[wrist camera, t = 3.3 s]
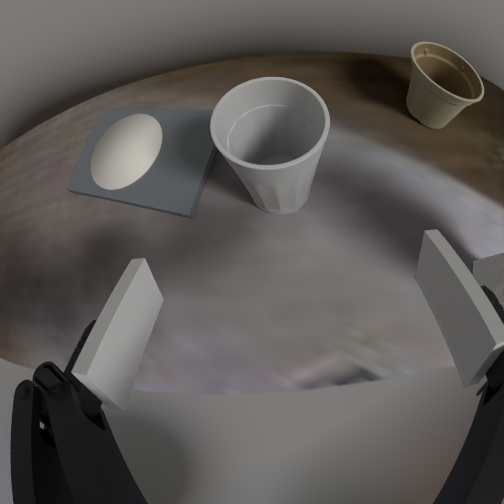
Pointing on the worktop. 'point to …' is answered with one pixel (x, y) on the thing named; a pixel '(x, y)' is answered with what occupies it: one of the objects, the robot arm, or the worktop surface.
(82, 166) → the board
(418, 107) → the flower pot
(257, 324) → the worktop surface
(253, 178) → the cup
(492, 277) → the skyscraper
